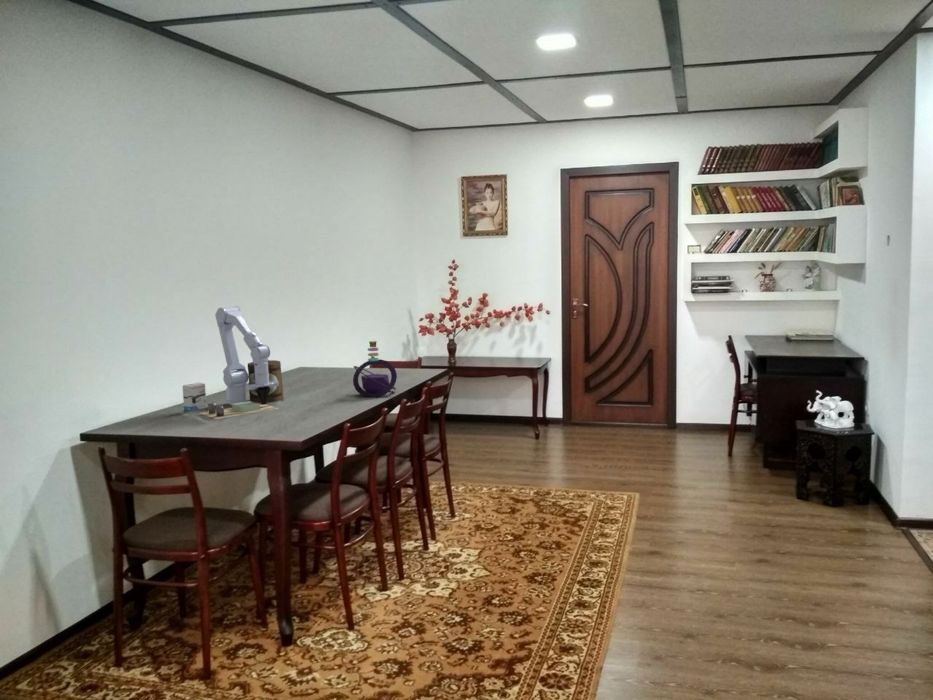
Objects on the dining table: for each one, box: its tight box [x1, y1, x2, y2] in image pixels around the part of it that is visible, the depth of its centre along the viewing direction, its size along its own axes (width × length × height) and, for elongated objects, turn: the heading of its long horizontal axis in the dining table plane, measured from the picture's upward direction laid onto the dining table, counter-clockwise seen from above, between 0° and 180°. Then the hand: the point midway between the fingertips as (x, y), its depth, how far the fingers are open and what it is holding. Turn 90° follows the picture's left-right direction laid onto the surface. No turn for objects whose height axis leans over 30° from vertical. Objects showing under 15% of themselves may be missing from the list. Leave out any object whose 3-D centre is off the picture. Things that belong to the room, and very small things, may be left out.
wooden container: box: [247, 359, 284, 404], centre depth 348 cm, size 15×15×22 cm
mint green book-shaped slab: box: [231, 400, 260, 413], centre depth 327 cm, size 10×8×2 cm
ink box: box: [182, 382, 208, 412], centre depth 332 cm, size 8×5×12 cm, turn 149°
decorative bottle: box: [352, 340, 398, 399], centre depth 359 cm, size 22×21×25 cm
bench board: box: [199, 403, 280, 420], centre depth 325 cm, size 18×28×1 cm, turn 131°
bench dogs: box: [207, 402, 225, 417], centre depth 318 cm, size 11×3×4 cm, turn 41°
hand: (263, 404), depth 332 cm, fingers closed
